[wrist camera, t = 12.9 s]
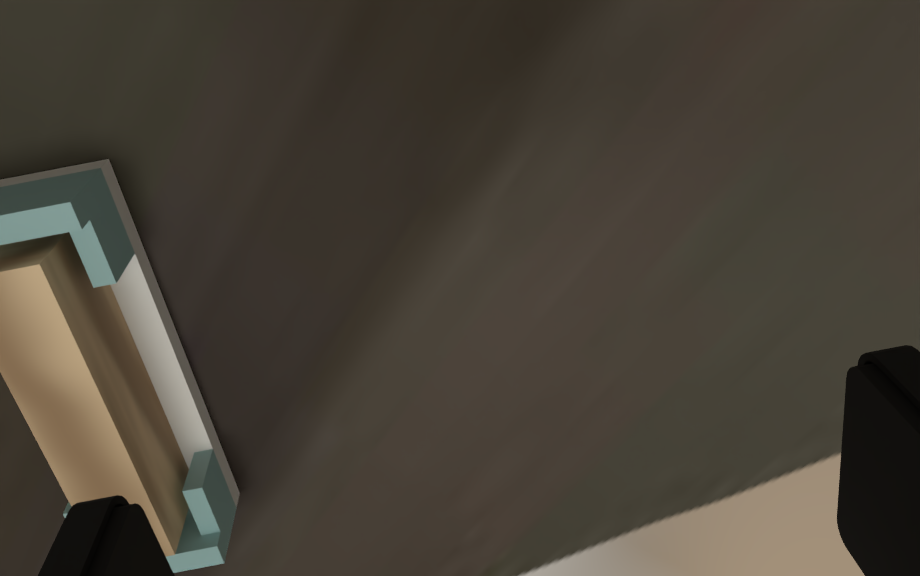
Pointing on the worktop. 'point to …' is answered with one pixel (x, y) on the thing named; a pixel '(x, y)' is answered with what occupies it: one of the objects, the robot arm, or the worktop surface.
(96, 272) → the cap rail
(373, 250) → the worktop surface
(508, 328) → the worktop surface
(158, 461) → the light brown long block
